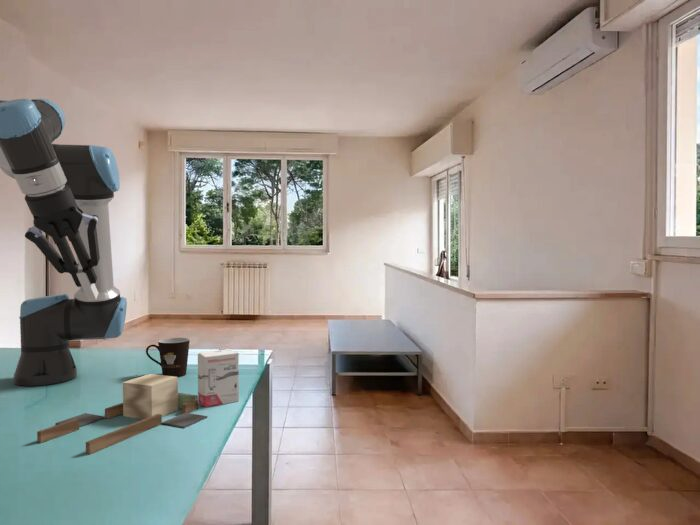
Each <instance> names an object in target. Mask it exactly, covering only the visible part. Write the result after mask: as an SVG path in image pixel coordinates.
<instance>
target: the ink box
mask: <svg viewBox="0 0 700 525" xmlns="http://www.w3.org/2000/svg"><path fill="white" fill-rule="evenodd" d="M239 357H240V356H239V352H237V351H236V350H233V349H231V348H230V349H228V348H226V349H218V350H217V349H216V350H210V351H201V352H199V353H198V354H197V396H198V405H200V406H201V407H204V408H210V407H214V405H215V406H220V404H221V405H227V404H231V403H237V402H239V400H240V380H239V379H240V370H239V369H240V368H239V367H240V366H239V363H240V362H239V361H240V360H239ZM209 406H210V407H209Z"/></svg>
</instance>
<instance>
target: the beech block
mask: <svg viewBox="0 0 700 525" xmlns="http://www.w3.org/2000/svg"><path fill="white" fill-rule="evenodd" d="M178 378H179V377H174V376H165V375H161V374H154V373H149V374H148V373H147V374H146V375H141V376H140V377H139V376H138V377H135V378H131V379H129V380H125V381H122V403H123V417H127V418H132V419H139V420H143V419H146V418H149V417H151V416H154V415H156V414H162V417H164V416H167V415H169V414H171V413H174V412H176V411H178V410H179V407H178V393H179V386H178V385H179V382H178V380H179V379H178ZM177 409H178V410H177ZM175 410H176V411H175ZM173 411H174V412H173Z"/></svg>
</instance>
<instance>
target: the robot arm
mask: <svg viewBox="0 0 700 525" xmlns="http://www.w3.org/2000/svg"><path fill="white" fill-rule="evenodd" d="M65 118H66V117H65V115H64V112H63V111H62V109H61V108H60V107H59V105H57V104H56V103H55V102H53V101H51V100H49V99H45V98H34V99H33V98H32V99H29V98H17V99H10V100H3V99H2V100H0V170H1V171H2V172H3V173H4V174H5V175H7V176H9V177H11V179H14V180H15V181H16V182H17V183H16V184H17V186H18V187H19V190H20V192H21V193H22V194H24V195H25V196H24V201H25V202H26V204H27V207H28V209H29V211H30V214H31V215H32V217H33V222H32V223H33V226H32V227H29V228H28V229H27V231H26V232H25V234H24V237H25V238H26V239H27V240H29V241H30V242H32V243H33V244H34V245H35V246H36V248H38V249H39V250H40V252H41V253H42V254H43V256H44V257H45V258H46V259H47V261H49V263H50V265H52V267H54V269H55V270H56V271H57V272H58V273H59V274H64V273H66V274H67V273H68V274H70V275H71V277H72V280H73V281H74V284H75V286H76V287H77V288H79V289H78V290H77V291H75V293H74V294H73V295H74V296H73V297H74V298H70V296H69V294H67V293H61V294H53V295H46V296H40V297H34V298H29V299H26V300H23V301H22V303H21V304H20V308H19V311H20V313H19V315H20V316H19V328H20V330H19V332H20V333H19V334H20V356H19V359H18V362H17V364H16V368H15V372H14V374H13V384H14V385H17V386H23V387H25V386H26V387H31V386H32V387H33V386H35V387H36V386H47V385H54V384H59V383H65V382H68V381H70V380H74V379H75V378H76V377H77V376H78V368H77V366H76V363H75V361H74V358H73V355H72V353H71V349H70V341H88V340H90V341H92V340H104V341H105V340H107V339H116V338H119V337H120V336H121V335H122V334H123V332H124V328H125V322H126V318H127V317H126V316H127V307H128V305H127V304H128V301H127V298H126V297H124V296H121V290H120V289H119V288H117V287H116V286H115V284H114V272H113V269H114V268H113V258H112V256H113V255H112V240H111V226H110V212H109V211H110V210H109V203H110V202H112V201H113V199H114V198H115V194H114V193H116V192H118V191H119V190H120V187H121V186H120V185H121V184H120V173H119V168H118V164H117V160H116V158H115V155H114V152H113V151H112V150H111V149H110V148H109V147H106V146H100V145H93V144H59V143H58V144H57V143H56V144H55V143H53V142H54V141H55V140H57V139H58V138H59V137H60V136H61V135H62V133H63V130H64V128H65V126H66V119H65ZM43 233H44V234H46V235H48V236H49V237H51V238H52V240H53V243H54V244H55V245H56V247H57V249H58V251H59V252H58V251H57V250H56V248H55V247H54V246H53V244H51V242H50V241H49V239H47V237H46V236H45V235H44V234H43ZM68 241H69V242H70V243H71V245H72V248H73V250H74V252H75V254H76V258H75V256H74V253H73V251H72V248H71V246H70V244H69V242H68ZM59 253H60V254H59Z"/></svg>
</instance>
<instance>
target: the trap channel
mask: <svg viewBox="0 0 700 525" xmlns="http://www.w3.org/2000/svg"><path fill="white" fill-rule="evenodd" d="M179 407H180V409H181V413H182V414H179V415H176V416H174V417H172V418H170V419H167V420H165V421H163V420H162V419H163V418H162V417H163V416H162V414H156V415H154V416H151V417H149V418H146V419H140V420H139V421H136V422H133V423H131V424H128V425H126V426H123V427H121V428H118V429H116V430H112V431H111V432H108V433H106V434H102V435H100V436H98V437H96V438H93V439H90V440H88V441H85V454H86V455H92V454H95V453H96V452H98V451H101V450H103V449H105V448H108V447H111V446H113V445H115V444H118V443H119V442H122V441H125V440H127V439H129V438H132V437H134V436H137V435H139V434H141V433H144V432H146V431H149V430H151V429H154V428H156V427H158V426H160V425H165V426H172V427H177V428H181V427H183V429H186V428H188V427H190V426H192V425H194V424H197V423H199V422H200V420H201V421H203V420H205V419H207V418H208V416H207V415H202V414H197V413H191V412H193V410H194V411H196V410H198V409H199V403H198V394H197V395H196V394H190V393H183V392H182V393H181V392H178V408H179ZM195 409H196V410H195ZM188 412H189V413H188ZM122 414H123V402H121V403H118V404H114V405H112V406H110V407H105V408H104V416H103V415H99V414H93V413H82V414H79V415H75V416H71V417H69V418H66V419H64V420H61V421H58V422H55V425H53V426H50V427H47V428H45V429H41V430H39V431H36V436H37V438H36V440H37V441H36V442H37V443H39V444H42V443H45V442H47V441H51V440H53V439H56V438H59V437H62V436H64V435H67V434H70V433H72V432H76V431H78V430H80V428H82V427H84V426H87V425H90V424H93V423H95V422H98V421H101V420H103V419H107V420H108V419H111V418H114V417H117V416H120V415H122ZM204 418H205V419H204ZM202 419H203V420H202ZM198 421H199V422H198ZM196 422H197V423H196ZM187 426H188V427H187ZM185 427H186V428H185Z"/></svg>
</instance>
